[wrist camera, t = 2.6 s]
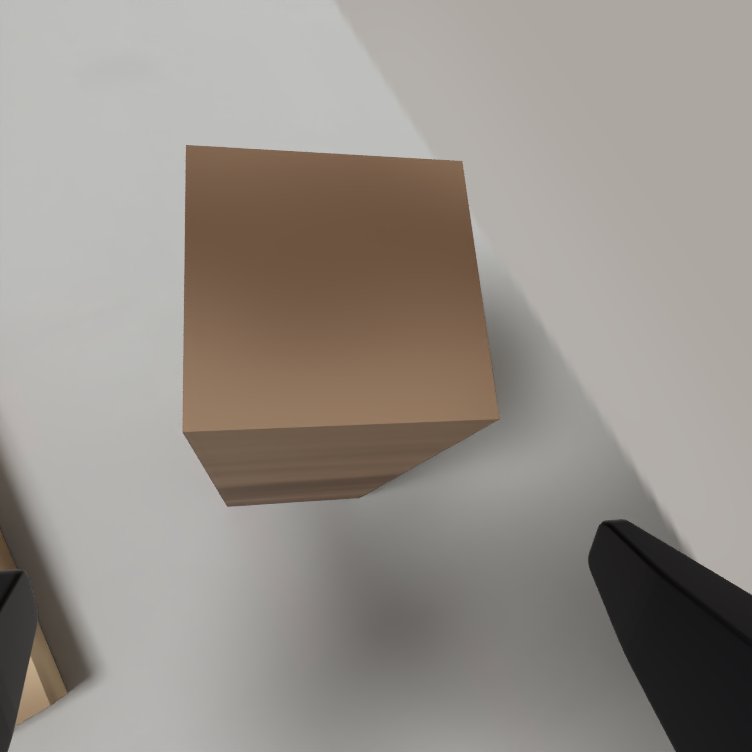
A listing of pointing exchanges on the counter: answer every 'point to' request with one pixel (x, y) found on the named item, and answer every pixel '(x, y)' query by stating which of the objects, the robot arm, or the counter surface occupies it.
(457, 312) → the pillar
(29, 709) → the plinth
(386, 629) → the counter surface
